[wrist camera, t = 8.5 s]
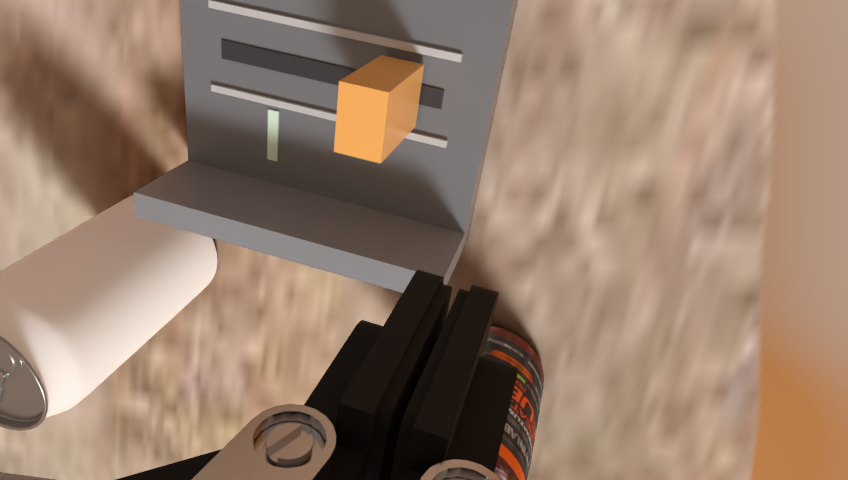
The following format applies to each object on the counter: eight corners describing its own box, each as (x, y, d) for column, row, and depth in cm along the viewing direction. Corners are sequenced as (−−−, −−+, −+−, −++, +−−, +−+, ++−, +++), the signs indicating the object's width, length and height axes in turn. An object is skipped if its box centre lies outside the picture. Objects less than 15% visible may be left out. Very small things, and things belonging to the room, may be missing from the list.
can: (240, 240, 33) (73, 385, 23) (195, 309, 37) (32, 461, 27) (143, 164, 33) (-71, 279, 23) (106, 241, 36) (-95, 371, 26)
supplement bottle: (570, 373, 32) (548, 576, 22) (493, 425, 35) (443, 623, 25) (485, 297, 31) (424, 473, 21) (413, 357, 34) (331, 534, 24)
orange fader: (381, 55, 25) (338, 81, 21) (424, 64, 24) (389, 92, 21) (374, 116, 26) (333, 151, 22) (415, 126, 26) (380, 163, 22)
